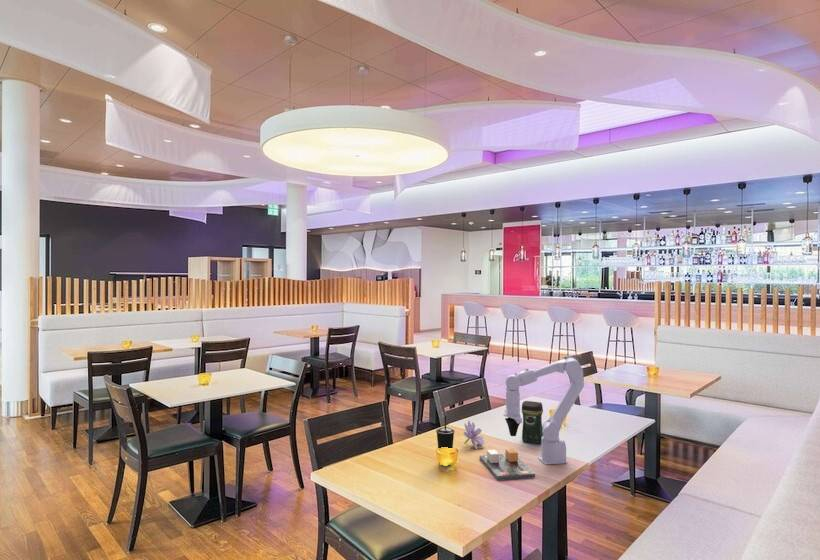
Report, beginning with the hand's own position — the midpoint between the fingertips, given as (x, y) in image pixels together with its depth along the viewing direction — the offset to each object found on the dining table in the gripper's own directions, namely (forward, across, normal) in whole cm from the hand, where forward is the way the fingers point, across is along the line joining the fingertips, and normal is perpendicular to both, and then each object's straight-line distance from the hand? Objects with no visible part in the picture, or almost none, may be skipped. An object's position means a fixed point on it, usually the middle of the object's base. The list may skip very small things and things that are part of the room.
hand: (513, 435), depth 203 cm
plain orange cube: (+8, +6, -3) cm, 10 cm away
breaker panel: (+9, +10, -7) cm, 15 cm away
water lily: (+10, -18, -12) cm, 23 cm away
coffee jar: (+10, -19, +17) cm, 27 cm away
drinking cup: (+10, +2, -30) cm, 32 cm away
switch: (+8, +6, -11) cm, 15 cm away
